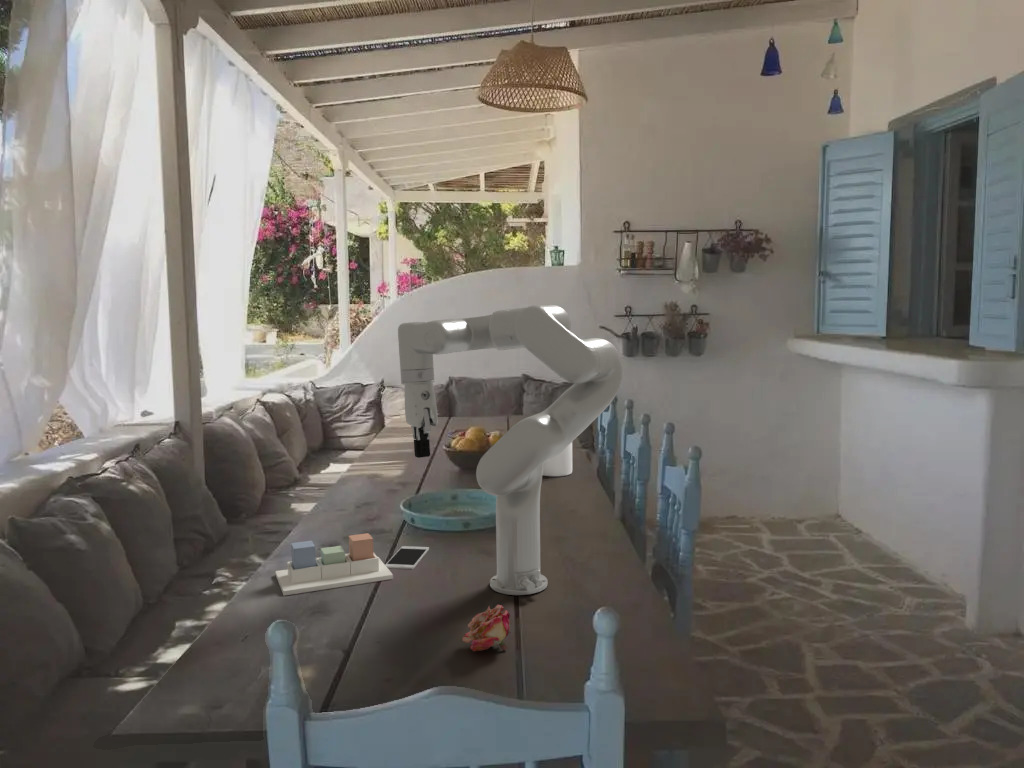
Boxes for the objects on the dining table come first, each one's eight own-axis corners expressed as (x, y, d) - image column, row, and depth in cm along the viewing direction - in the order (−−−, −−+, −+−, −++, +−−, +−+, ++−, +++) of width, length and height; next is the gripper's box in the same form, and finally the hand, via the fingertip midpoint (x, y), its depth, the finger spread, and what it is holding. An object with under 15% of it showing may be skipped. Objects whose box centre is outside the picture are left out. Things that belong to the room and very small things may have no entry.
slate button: (316, 567, 181) (315, 546, 180) (295, 570, 179) (293, 548, 179) (312, 561, 185) (311, 540, 185) (292, 564, 183) (291, 543, 183)
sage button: (345, 572, 184) (344, 551, 183) (325, 575, 182) (324, 554, 181) (341, 566, 188) (340, 545, 187) (321, 569, 186) (320, 548, 186)
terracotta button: (373, 559, 186) (372, 538, 185) (353, 562, 184) (352, 541, 184) (369, 553, 190) (368, 533, 190) (349, 556, 188) (348, 535, 188)
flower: (523, 629, 150) (498, 594, 151) (526, 640, 141) (499, 603, 142) (481, 661, 150) (456, 626, 150) (481, 674, 140) (454, 636, 141)
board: (393, 578, 183) (392, 561, 183) (283, 595, 174) (282, 577, 174) (378, 560, 196) (377, 544, 196) (275, 575, 187) (274, 558, 186)
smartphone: (429, 550, 205) (429, 546, 205) (413, 570, 190) (413, 566, 190) (402, 549, 206) (402, 545, 206) (383, 569, 191) (383, 565, 191)
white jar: (531, 471, 291) (530, 416, 289) (562, 468, 297) (561, 413, 294) (547, 478, 280) (546, 421, 278) (578, 474, 285) (578, 418, 283)
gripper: (444, 377, 179) (449, 459, 180) (422, 373, 192) (427, 450, 194) (411, 380, 176) (417, 463, 177) (392, 376, 189) (397, 454, 191)
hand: (422, 456), depth 186 cm, fingers closed
